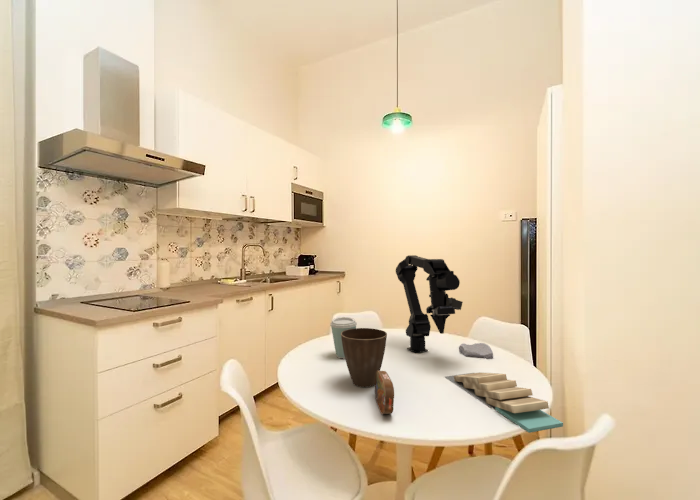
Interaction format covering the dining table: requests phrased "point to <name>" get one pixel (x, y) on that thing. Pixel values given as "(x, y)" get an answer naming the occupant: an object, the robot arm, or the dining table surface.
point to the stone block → (476, 350)
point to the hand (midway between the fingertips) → (441, 333)
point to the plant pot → (363, 354)
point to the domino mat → (468, 390)
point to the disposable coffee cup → (338, 327)
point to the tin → (384, 392)
